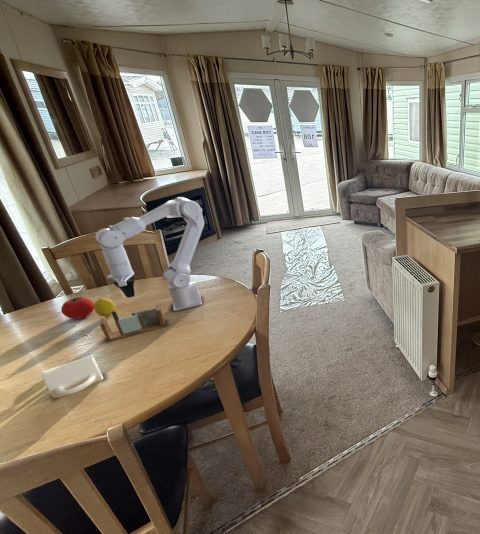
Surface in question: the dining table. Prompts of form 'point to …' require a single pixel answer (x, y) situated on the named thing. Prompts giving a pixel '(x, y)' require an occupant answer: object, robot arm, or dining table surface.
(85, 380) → the white box with handle
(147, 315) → the window frame
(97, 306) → the lemon
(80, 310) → the tomato
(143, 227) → the robot arm
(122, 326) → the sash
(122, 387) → the dining table surface
